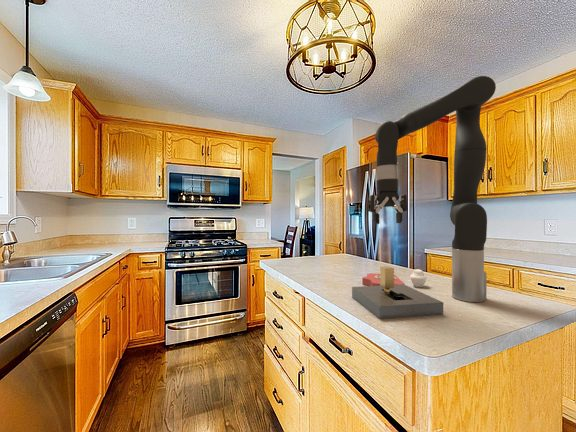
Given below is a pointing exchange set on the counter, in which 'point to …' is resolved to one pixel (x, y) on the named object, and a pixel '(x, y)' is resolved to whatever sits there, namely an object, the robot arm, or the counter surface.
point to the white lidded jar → (418, 278)
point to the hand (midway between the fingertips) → (387, 223)
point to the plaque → (377, 280)
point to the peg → (387, 279)
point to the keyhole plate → (397, 302)
